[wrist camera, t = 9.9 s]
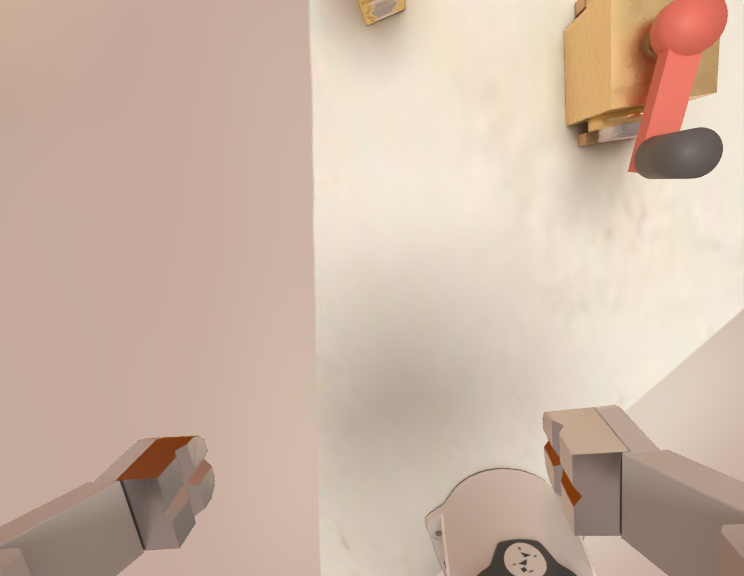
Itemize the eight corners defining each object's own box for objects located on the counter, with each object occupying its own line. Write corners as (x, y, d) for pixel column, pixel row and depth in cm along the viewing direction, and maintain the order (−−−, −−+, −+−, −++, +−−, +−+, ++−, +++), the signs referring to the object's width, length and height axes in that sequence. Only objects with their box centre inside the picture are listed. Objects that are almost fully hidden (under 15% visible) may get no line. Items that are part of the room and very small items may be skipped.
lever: (717, 1, 26) (792, -44, 21) (665, 181, 29) (720, 181, 24) (658, -3, 26) (718, -49, 21) (613, 176, 29) (657, 175, 24)
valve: (645, 136, 38) (728, 120, 28) (566, 148, 39) (619, 136, 29) (648, -11, 35) (741, -87, 25) (563, 5, 36) (620, -62, 26)
